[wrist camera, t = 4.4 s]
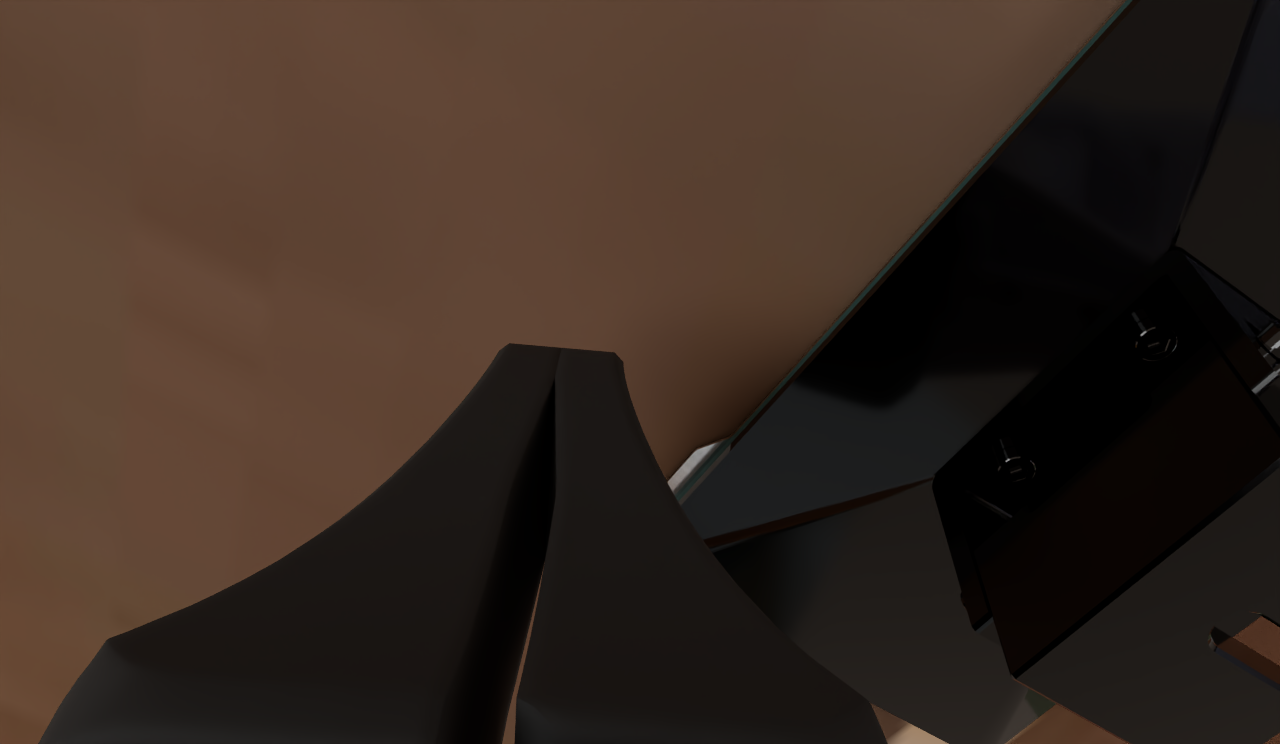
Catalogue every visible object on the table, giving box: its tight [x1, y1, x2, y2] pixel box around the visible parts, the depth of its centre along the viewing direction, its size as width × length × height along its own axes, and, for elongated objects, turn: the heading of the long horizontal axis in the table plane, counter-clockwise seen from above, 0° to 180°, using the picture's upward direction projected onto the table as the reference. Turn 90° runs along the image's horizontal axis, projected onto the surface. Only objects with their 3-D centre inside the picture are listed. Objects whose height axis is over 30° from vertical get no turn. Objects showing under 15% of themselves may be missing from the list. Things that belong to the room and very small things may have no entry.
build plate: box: [667, 0, 1280, 744], centre depth 14 cm, size 12×7×5 cm, turn 146°
